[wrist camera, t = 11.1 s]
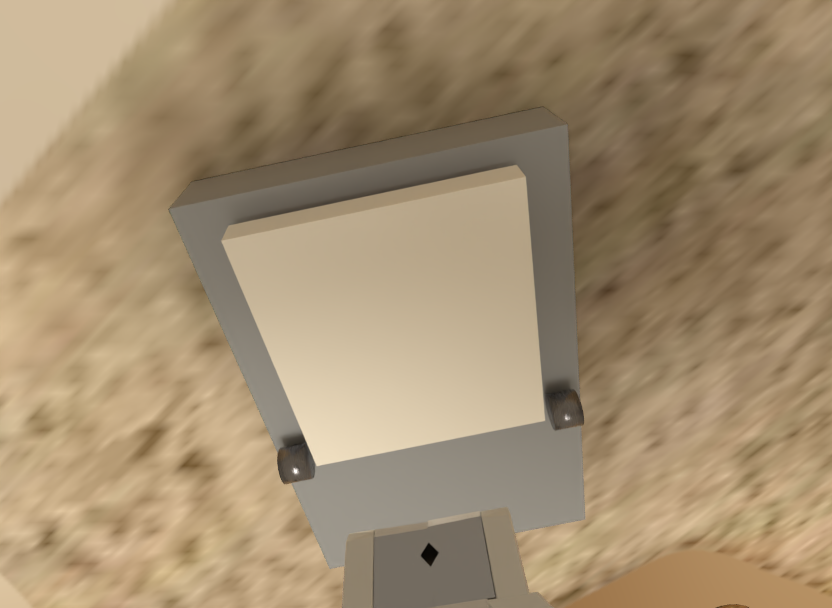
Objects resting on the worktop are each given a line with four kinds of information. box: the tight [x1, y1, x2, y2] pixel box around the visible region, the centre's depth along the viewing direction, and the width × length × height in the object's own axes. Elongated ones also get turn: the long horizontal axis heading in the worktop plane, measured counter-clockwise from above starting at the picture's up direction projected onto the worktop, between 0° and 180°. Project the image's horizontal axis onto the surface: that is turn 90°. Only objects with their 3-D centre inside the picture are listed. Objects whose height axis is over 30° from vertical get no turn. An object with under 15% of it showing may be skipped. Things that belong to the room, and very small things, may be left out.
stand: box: [168, 107, 585, 569], centre depth 25 cm, size 14×21×5 cm, turn 11°
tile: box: [221, 165, 545, 466], centre depth 21 cm, size 10×11×1 cm
